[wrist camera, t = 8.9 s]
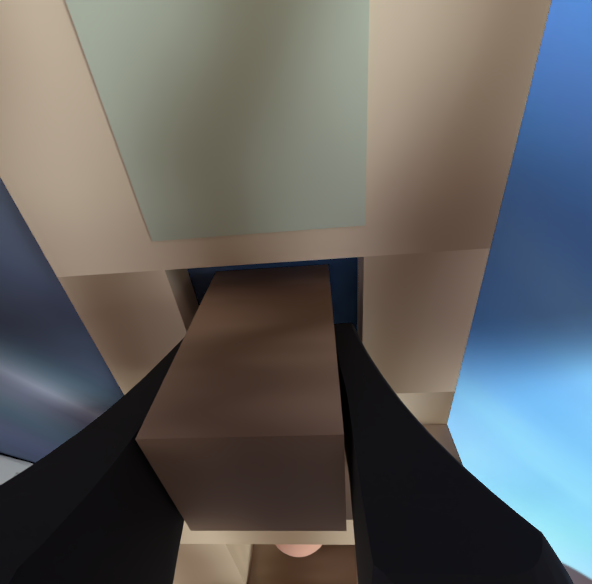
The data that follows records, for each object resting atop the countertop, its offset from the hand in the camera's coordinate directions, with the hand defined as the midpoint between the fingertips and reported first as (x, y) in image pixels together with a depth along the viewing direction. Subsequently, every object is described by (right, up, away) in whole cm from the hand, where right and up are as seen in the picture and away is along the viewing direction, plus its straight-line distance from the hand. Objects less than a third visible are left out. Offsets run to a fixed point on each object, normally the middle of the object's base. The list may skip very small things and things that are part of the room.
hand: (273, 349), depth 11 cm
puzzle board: (0, -1, +3) cm, 3 cm away
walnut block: (0, +1, +2) cm, 2 cm away
